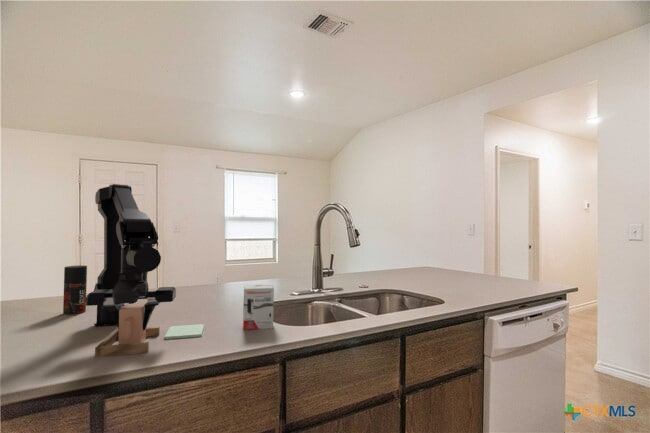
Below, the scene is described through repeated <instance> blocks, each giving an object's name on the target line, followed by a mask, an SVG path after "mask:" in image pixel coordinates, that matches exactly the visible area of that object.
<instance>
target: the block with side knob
mask: <svg viewBox="0 0 650 433" xmlns="http://www.w3.org/2000/svg"><path fill="white" fill-rule="evenodd" d="M145 304H146V303H138V304H137V303H133V304H124V306H123V307H122V308H121V309H119V338H118V341H117V342H118V344H117V345H119V344H132V343H145V342H146V341H145V340H146V339H147V336H146V329H145V330H143V320H144V313H145V306H144V305H145Z"/></svg>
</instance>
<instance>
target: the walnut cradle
mask: <svg viewBox="0 0 650 433" xmlns="http://www.w3.org/2000/svg"><path fill="white" fill-rule="evenodd" d="M154 336H156V337H157V336H160V326H150V327H148V326H147V327H146V337H154ZM118 340H119V329H118V328H116V329H114V330H113V331H111V333H109V335H107V336H106V337H105V338H104V339H103V340H102V341H101V342H100V343H99V344H98V345H97V346H95V347H94V357H95V358H96V357H107V356H108V357H109V356H122V355H135V354H145V353H148V352H149V348H150V347H149V346H150V345H149V344H150V342H149V341H147V342H146V341H144V342H143V343H132V344H119V345H118V344H114V343H115V342H116V341H118Z"/></svg>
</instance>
